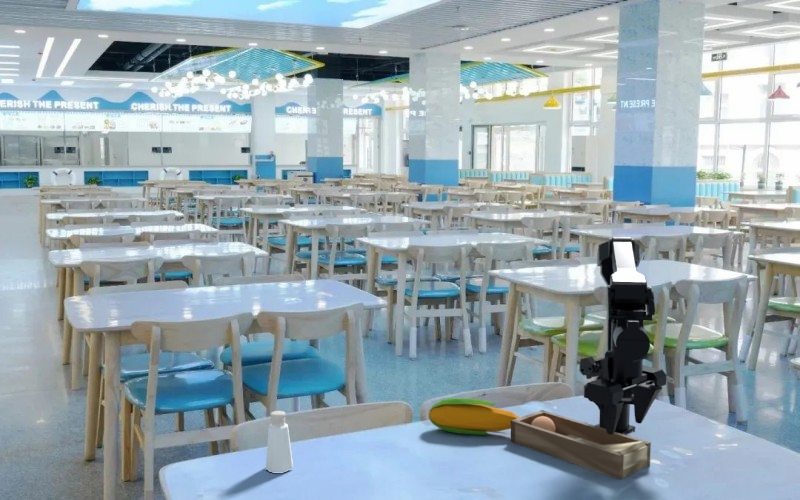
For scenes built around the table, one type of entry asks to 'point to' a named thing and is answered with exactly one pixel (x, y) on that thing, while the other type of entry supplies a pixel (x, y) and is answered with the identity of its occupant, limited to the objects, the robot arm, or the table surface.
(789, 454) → the table surface
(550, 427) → the ball
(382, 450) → the table surface
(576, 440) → the brown wooden open box
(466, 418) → the corn
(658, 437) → the table surface
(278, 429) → the pepper shaker
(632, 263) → the robot arm
